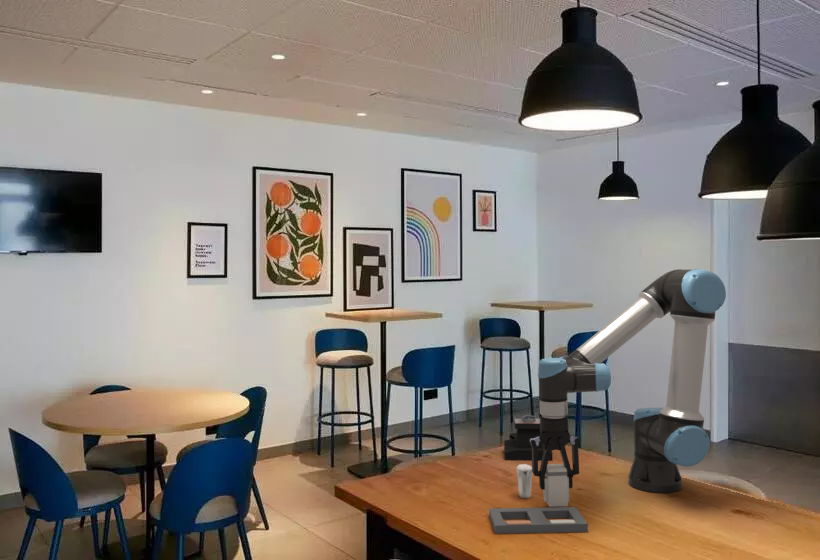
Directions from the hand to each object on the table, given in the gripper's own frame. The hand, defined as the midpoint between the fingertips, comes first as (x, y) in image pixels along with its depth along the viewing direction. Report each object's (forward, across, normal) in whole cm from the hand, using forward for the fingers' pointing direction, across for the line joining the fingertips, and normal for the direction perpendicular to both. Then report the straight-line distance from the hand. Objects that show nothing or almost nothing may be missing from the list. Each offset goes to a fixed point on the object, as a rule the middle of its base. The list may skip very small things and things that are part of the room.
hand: (556, 500), depth 187 cm
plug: (+1, 0, 0) cm, 1 cm away
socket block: (+2, +8, +11) cm, 14 cm away
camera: (+3, -2, -54) cm, 54 cm away
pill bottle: (+2, +6, -10) cm, 12 cm away
